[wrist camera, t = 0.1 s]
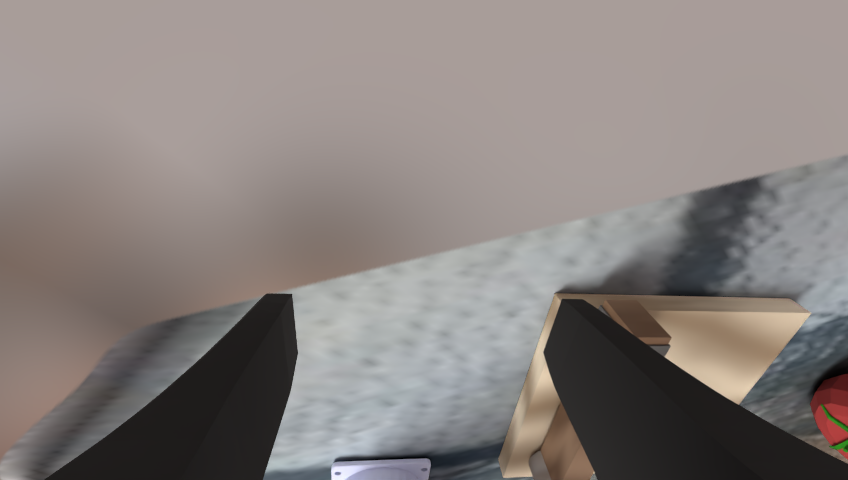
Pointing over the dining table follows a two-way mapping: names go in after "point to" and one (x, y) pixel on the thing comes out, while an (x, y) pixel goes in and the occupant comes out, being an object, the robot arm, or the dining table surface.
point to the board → (666, 356)
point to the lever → (562, 451)
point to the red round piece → (833, 412)
